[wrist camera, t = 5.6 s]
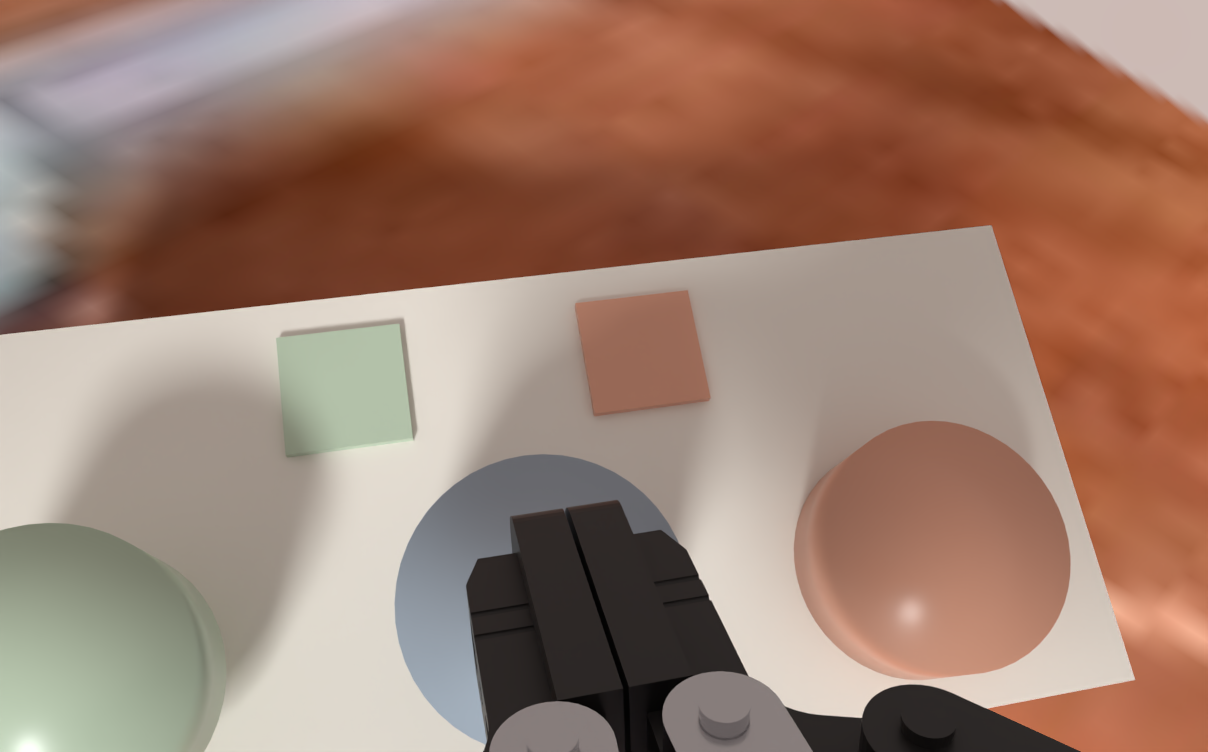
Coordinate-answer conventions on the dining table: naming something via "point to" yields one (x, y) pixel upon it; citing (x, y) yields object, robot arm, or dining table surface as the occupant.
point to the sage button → (102, 647)
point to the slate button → (478, 530)
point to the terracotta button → (933, 553)
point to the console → (529, 427)
